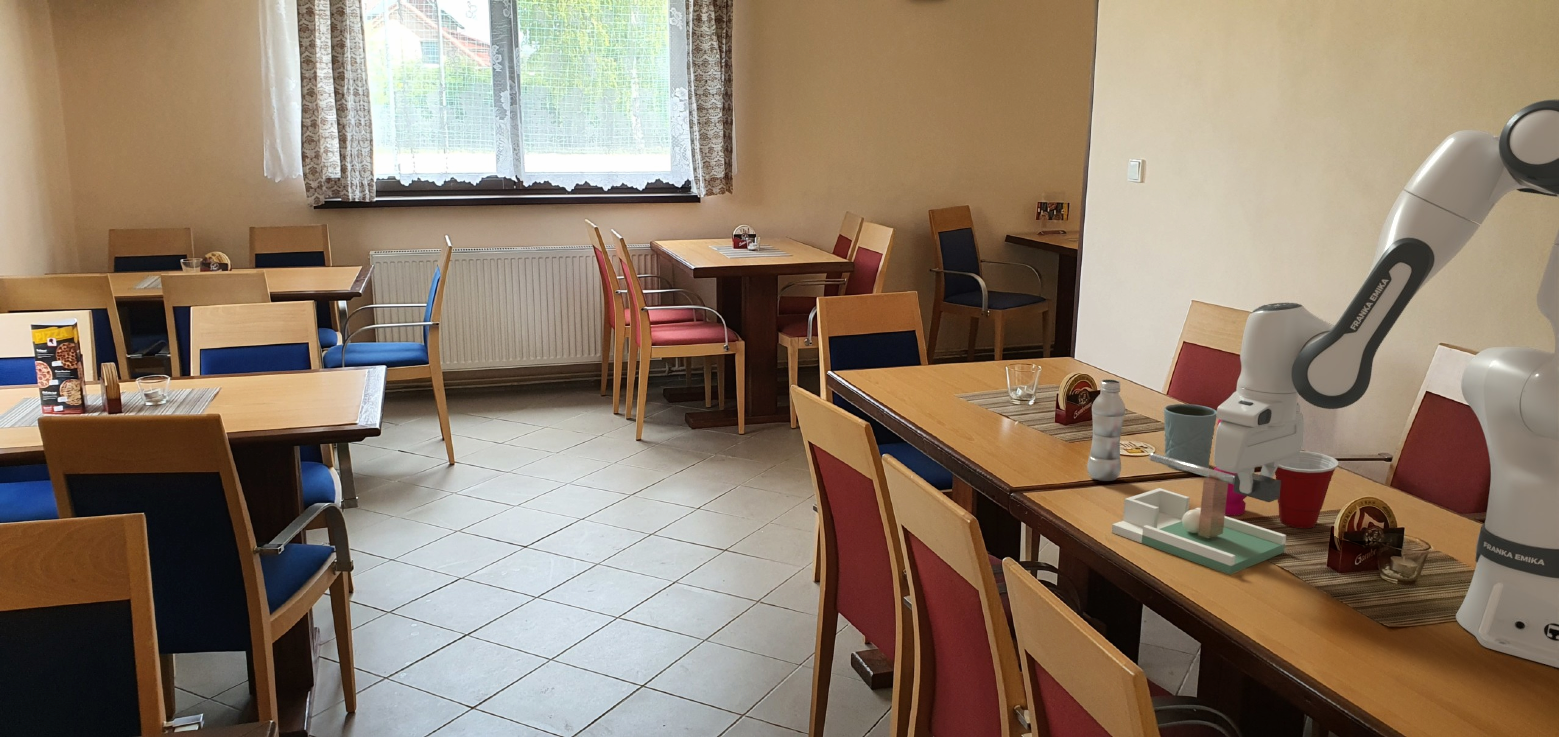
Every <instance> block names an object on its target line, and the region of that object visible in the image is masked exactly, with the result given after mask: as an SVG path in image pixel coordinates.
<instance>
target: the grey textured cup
mask: <svg viewBox="0 0 1559 737" xmlns="http://www.w3.org/2000/svg"><path fill="white" fill-rule="evenodd" d="M1163 412H1164V413H1163V414H1164V416H1163V417H1164V456H1166V457H1169V458H1173V459H1177V460H1180V461H1184V462H1187V463H1191V464H1195V465H1198V466H1202V467H1205V468H1209V467H1210V459H1211V453H1212V451H1211V450H1212V445H1213V439H1214V434H1215V426H1216V424H1217V423H1216V422H1217V409H1216V410H1215V409H1214V408H1211V407H1208V406H1203V405H1198V404H1189V403H1175V404H1170V405H1166V406H1165V407H1164V409H1163ZM1165 466H1167V467H1168V468H1170V469H1173V470H1175V471H1182V472H1186V471H1185V470H1182V469H1178V468H1175V467H1171V466H1168V465H1165ZM1187 473H1189V471H1187Z"/></svg>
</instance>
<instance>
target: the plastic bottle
mask: <svg viewBox="0 0 1559 737" xmlns="http://www.w3.org/2000/svg"><path fill="white" fill-rule="evenodd" d="M1099 390H1100V391H1101V392H1100V394H1098V396H1097V397H1096V398H1095V400H1094V401H1092V402H1093V403H1092V405H1091V415H1092V416H1091V418H1092V441H1091V447H1090V452H1089V453H1090V454H1089V455H1088V460H1087V466H1086V467H1087V474H1088V475H1089V477H1090V478H1091V479H1093V480H1098V481H1100V482H1101V481H1102V482H1110V481H1116V480H1117V479H1118V478H1119V477H1120V474H1121V472H1122V460H1121V434H1122V428H1123V425H1124V419H1125V415H1126V405H1125V403H1124V400H1123V399H1122V397H1121V395H1120V394H1119V393H1120V392H1121V381H1120V380H1116V379H1101V381H1100V387H1099Z"/></svg>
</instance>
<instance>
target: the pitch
mask: <svg viewBox="0 0 1559 737" xmlns="http://www.w3.org/2000/svg"><path fill="white" fill-rule="evenodd" d="M1123 505H1124V506H1123V515H1122V516H1123V518H1122V521H1118V522H1115V523H1111V533H1112V534H1114V535H1118V536H1120V537H1123V538H1126V539H1129V540H1132V541H1135V542H1136V543H1140V544H1142V545H1145V546H1149V547H1150V548H1154V549H1156V550H1160V551H1161V552H1162V551H1163V552H1165V553H1168V554H1170V555H1171V554H1172V555H1174V556H1175V557H1179V558H1181V559H1184V560H1186V561H1191V562H1193V563H1196V564H1198V565H1201V566H1203V567H1207V568H1210V569H1213V570H1215V571H1218V572H1221V573H1224V574H1226V575H1228V576H1230V575H1233V574H1236V573H1238V572H1240V571H1243V570H1245V569H1248V568H1250V567H1252V566H1254V565H1257V564H1260V563H1262V562H1264V561H1266V560H1269V559H1271V558H1273V557H1276V556H1278V555H1281V554H1284V553H1285V548H1286V539H1287V534H1284V533H1282V532H1277V531H1275V530H1271V529H1269V528H1268V529H1267V528H1264V527H1261V526H1259V525H1255V524H1252V523H1249V522H1246V521H1242V520H1239V519H1236V518H1233V517H1229V516H1228V515H1225V518H1224V527H1223V534H1220V535H1218V536H1215V537H1212V538H1210V539H1209V538H1206V537H1203V536H1200V535H1198V533H1196V534H1195V533H1190V532H1188V531H1187V530H1186V529H1185V528H1184V526H1183V524H1182V518H1183V516H1184V514H1185V513H1186V512H1187V511H1189V508H1190V496H1186V495H1184V494H1183V495H1182V494H1180V493H1177V492H1175V491H1174V492H1173V491H1170V490H1167V489H1164V488H1160V487H1159V488H1156V489H1155V488H1154V489H1152V490H1149V491H1145V492H1143V493H1140V494H1136V495H1132V496H1129V497H1127V498H1124V504H1123ZM1194 510H1199V511H1201V507H1196V508H1194Z"/></svg>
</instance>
